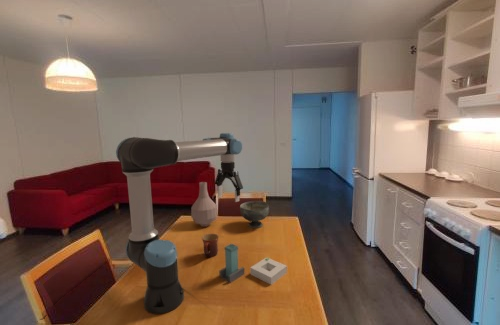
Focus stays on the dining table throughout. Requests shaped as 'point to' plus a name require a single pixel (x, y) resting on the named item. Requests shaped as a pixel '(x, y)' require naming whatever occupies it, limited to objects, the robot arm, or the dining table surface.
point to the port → (265, 275)
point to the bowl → (254, 212)
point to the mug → (210, 245)
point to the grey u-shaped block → (232, 276)
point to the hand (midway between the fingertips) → (228, 199)
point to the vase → (204, 207)
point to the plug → (231, 259)
